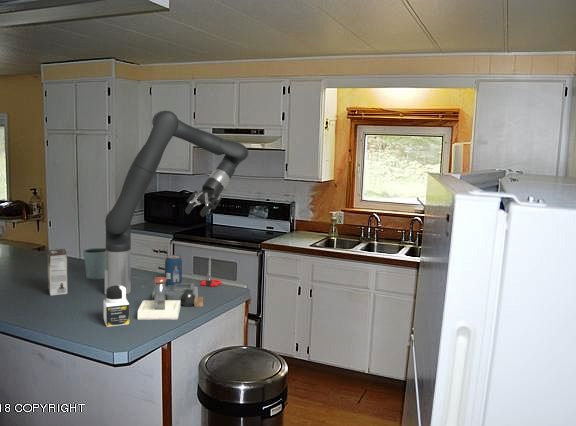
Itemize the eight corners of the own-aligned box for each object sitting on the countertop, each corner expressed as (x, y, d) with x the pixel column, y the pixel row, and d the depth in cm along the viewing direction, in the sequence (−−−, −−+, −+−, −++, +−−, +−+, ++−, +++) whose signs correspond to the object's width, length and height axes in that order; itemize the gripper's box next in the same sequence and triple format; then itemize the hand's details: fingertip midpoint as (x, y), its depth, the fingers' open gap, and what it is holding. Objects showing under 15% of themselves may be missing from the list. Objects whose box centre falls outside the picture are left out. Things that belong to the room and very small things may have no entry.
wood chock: (194, 306, 180) (194, 298, 180) (194, 304, 182) (194, 296, 182) (202, 306, 180) (202, 298, 180) (203, 304, 183) (203, 296, 182)
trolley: (151, 306, 178) (151, 291, 177) (155, 296, 190) (155, 282, 189) (195, 306, 180) (196, 291, 179) (197, 296, 192) (197, 282, 192)
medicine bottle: (106, 327, 157) (106, 291, 155) (103, 320, 163) (103, 285, 161) (129, 324, 160) (129, 288, 158) (125, 317, 166) (125, 283, 165)
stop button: (152, 313, 169) (153, 280, 167) (154, 309, 173) (154, 276, 171) (165, 313, 169) (165, 280, 168) (166, 309, 174) (167, 276, 172)
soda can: (171, 281, 212) (172, 254, 211) (184, 283, 209) (185, 256, 208) (161, 284, 206) (161, 257, 204) (174, 287, 203) (175, 259, 201)
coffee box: (47, 289, 193) (46, 249, 191) (65, 287, 196) (64, 248, 194) (49, 296, 185) (48, 254, 183) (68, 294, 189) (67, 253, 186)
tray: (137, 319, 165) (137, 310, 164) (143, 308, 176) (143, 300, 175) (177, 319, 166) (177, 310, 166) (180, 308, 178) (180, 300, 177)
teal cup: (113, 276, 215) (113, 249, 214) (93, 281, 207) (93, 253, 205) (98, 272, 221) (98, 246, 219) (78, 277, 212) (78, 250, 211)
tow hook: (205, 281, 216) (198, 285, 207) (206, 252, 215) (199, 255, 206) (223, 282, 215) (217, 287, 206) (225, 253, 214) (219, 257, 204)
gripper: (199, 175, 197) (176, 205, 190) (224, 178, 189) (201, 209, 181) (208, 188, 202) (186, 218, 194) (233, 191, 193) (211, 222, 186)
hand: (193, 214), depth 188 cm, fingers open, 8 cm apart
